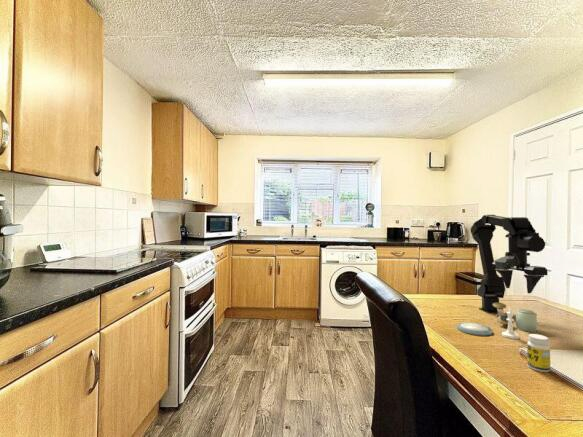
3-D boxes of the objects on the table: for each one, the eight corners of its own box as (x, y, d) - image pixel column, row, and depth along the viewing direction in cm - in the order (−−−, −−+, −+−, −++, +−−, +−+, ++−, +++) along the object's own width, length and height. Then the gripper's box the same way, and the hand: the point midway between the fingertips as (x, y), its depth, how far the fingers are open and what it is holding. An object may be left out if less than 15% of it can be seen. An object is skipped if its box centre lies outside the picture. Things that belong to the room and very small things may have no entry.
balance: (492, 314, 129) (492, 301, 129) (505, 316, 127) (505, 303, 127) (497, 326, 114) (497, 311, 114) (512, 328, 112) (512, 313, 112)
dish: (450, 325, 115) (450, 322, 115) (477, 324, 116) (477, 321, 116) (471, 336, 104) (471, 332, 104) (500, 335, 105) (500, 331, 106)
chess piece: (516, 334, 106) (515, 305, 106) (521, 339, 101) (521, 309, 101) (499, 333, 107) (499, 304, 108) (504, 338, 103) (503, 308, 103)
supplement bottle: (522, 364, 83) (522, 333, 83) (538, 363, 84) (538, 333, 84) (538, 373, 78) (538, 340, 79) (555, 372, 79) (554, 339, 79)
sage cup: (512, 326, 114) (511, 308, 114) (526, 325, 115) (526, 308, 115) (526, 332, 108) (525, 313, 109) (541, 331, 109) (541, 312, 109)
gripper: (480, 248, 125) (480, 286, 125) (521, 252, 107) (521, 297, 106) (504, 247, 127) (504, 285, 127) (548, 251, 108) (549, 295, 108)
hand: (518, 290), depth 117 cm, fingers open, 9 cm apart
